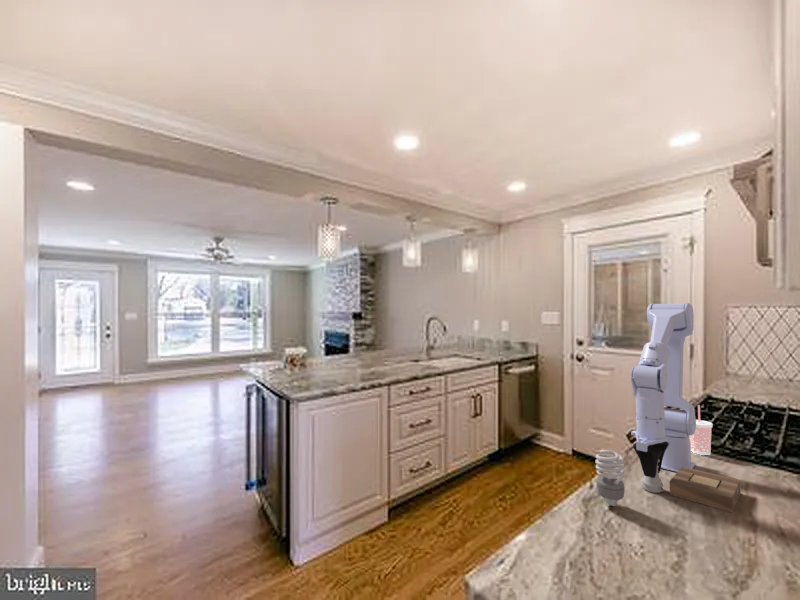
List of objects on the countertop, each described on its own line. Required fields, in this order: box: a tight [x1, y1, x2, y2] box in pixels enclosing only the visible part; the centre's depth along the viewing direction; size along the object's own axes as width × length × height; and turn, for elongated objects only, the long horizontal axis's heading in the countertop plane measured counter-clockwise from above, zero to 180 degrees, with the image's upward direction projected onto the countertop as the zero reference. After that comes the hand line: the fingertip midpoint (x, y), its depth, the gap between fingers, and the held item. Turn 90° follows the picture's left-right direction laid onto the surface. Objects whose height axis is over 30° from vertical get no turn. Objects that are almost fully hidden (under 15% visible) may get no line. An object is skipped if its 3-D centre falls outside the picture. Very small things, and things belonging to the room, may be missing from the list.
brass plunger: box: [690, 475, 720, 488], centre depth 89 cm, size 5×5×1 cm
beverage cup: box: [689, 404, 714, 456], centre depth 114 cm, size 6×6×14 cm
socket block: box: [669, 467, 741, 513], centre depth 89 cm, size 12×11×3 cm
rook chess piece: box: [641, 459, 664, 494], centre depth 92 cm, size 4×4×8 cm
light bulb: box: [595, 449, 626, 507], centre depth 85 cm, size 6×6×12 cm
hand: (652, 473), depth 92 cm, fingers closed on rook chess piece, 3 cm apart
